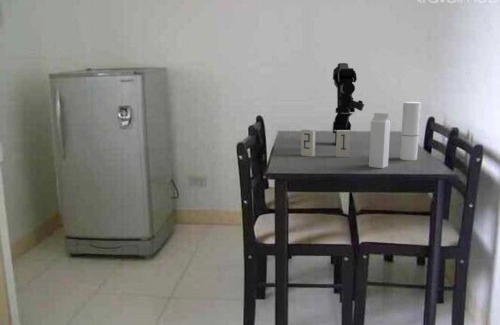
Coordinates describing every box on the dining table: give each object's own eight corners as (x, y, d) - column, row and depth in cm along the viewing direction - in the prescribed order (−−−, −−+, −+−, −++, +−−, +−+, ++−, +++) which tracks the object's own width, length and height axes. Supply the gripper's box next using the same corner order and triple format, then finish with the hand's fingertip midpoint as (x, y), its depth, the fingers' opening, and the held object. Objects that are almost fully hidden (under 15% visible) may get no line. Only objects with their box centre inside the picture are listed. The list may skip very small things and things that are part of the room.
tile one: (335, 155, 216) (336, 130, 214) (349, 156, 215) (350, 130, 213) (336, 157, 214) (336, 130, 211) (349, 157, 213) (350, 131, 210)
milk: (374, 164, 198) (376, 112, 194) (388, 166, 195) (391, 113, 190) (368, 166, 194) (371, 113, 189) (382, 168, 190) (385, 114, 185)
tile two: (303, 154, 220) (304, 129, 218) (314, 155, 217) (315, 130, 214) (300, 155, 218) (301, 129, 215) (312, 156, 215) (312, 130, 212)
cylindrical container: (417, 157, 210) (421, 101, 205) (416, 161, 204) (420, 103, 198) (401, 156, 213) (404, 101, 208) (399, 159, 207) (402, 102, 201)
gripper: (360, 94, 210) (359, 129, 212) (365, 95, 228) (364, 127, 230) (335, 94, 214) (334, 128, 216) (342, 95, 232) (342, 126, 234)
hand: (345, 128), depth 224 cm, fingers closed
